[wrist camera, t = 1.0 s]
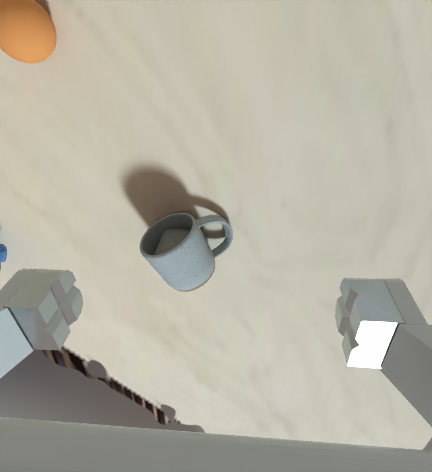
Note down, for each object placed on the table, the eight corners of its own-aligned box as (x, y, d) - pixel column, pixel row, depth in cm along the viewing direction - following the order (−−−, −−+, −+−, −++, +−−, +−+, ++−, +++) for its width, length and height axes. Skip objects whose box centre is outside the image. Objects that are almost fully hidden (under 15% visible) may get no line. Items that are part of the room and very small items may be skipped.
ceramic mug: (175, 262, 48) (166, 303, 42) (146, 221, 43) (131, 261, 37) (242, 243, 45) (242, 285, 39) (218, 196, 40) (214, 236, 34)
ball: (-1, -8, 28) (-40, -4, 24) (54, -10, 27) (23, -6, 24) (23, 56, 31) (-8, 69, 27) (73, 56, 31) (48, 68, 27)
